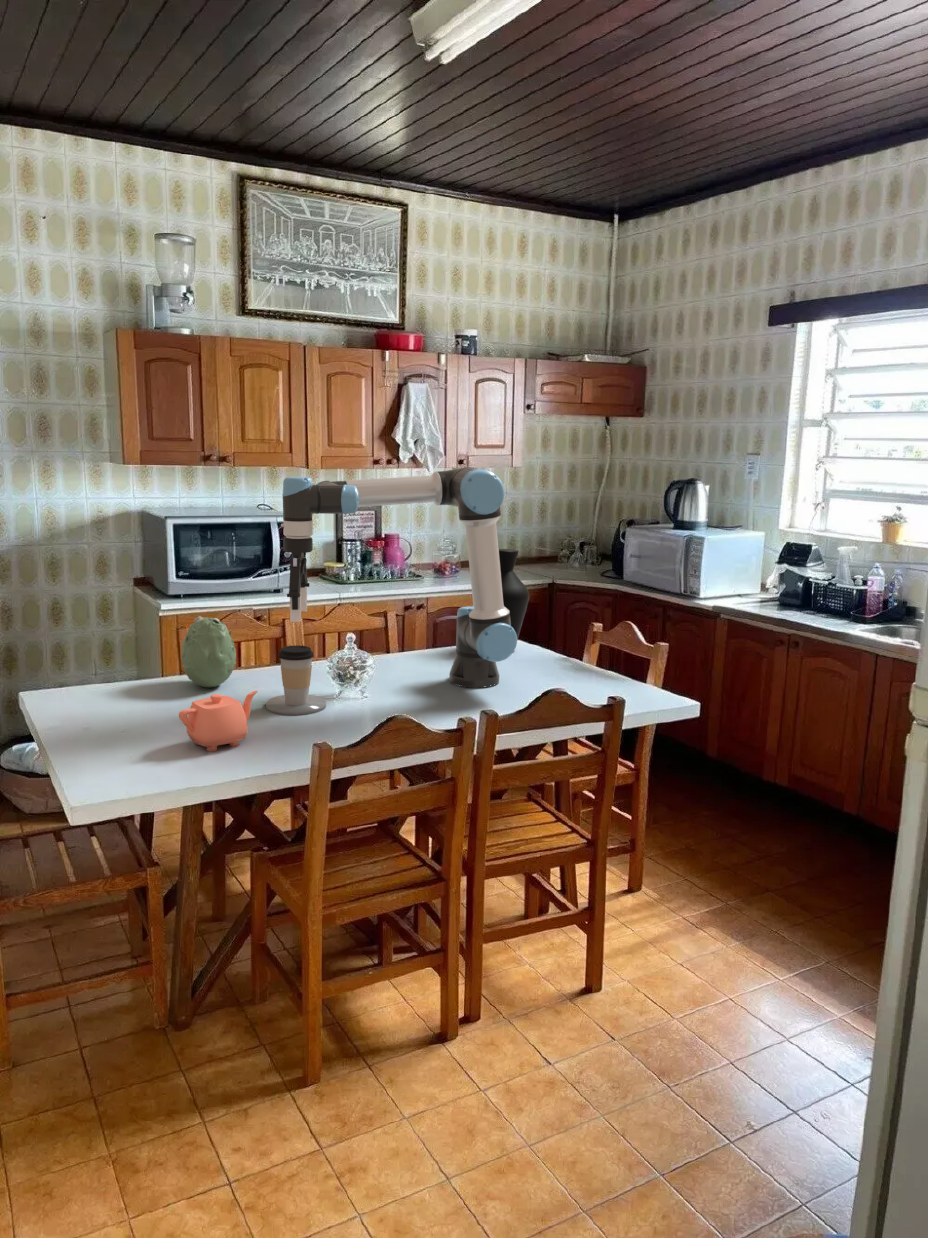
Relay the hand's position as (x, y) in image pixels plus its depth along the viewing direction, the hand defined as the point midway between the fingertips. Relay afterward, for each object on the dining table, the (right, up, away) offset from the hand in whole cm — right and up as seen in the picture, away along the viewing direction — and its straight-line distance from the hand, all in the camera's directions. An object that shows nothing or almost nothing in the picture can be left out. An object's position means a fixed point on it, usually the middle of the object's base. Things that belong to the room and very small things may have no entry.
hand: (298, 616), depth 244 cm
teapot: (-14, -30, -26) cm, 42 cm away
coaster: (-2, -24, +4) cm, 25 cm away
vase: (+57, -12, +73) cm, 94 cm away
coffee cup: (-1, -24, +4) cm, 24 cm away
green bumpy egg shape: (-29, -20, +21) cm, 41 cm away
